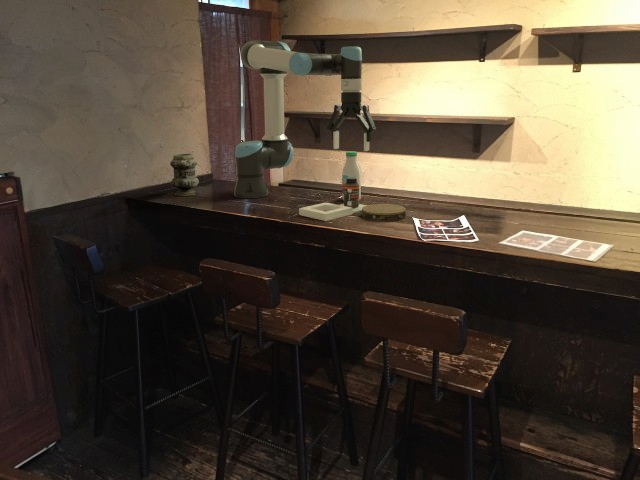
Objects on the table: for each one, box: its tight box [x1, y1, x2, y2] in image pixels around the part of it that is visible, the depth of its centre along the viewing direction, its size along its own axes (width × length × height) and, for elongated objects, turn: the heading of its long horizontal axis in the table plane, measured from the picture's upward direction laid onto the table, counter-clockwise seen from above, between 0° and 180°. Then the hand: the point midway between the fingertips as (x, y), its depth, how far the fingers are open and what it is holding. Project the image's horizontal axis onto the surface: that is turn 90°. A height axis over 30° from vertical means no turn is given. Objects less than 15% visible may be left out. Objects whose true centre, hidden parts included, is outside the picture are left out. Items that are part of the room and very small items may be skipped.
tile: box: [340, 203, 367, 214], centre depth 206 cm, size 12×12×1 cm
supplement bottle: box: [343, 177, 360, 208], centre depth 204 cm, size 6×6×11 cm
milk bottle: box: [341, 151, 362, 201], centre depth 219 cm, size 8×8×20 cm
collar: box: [298, 202, 354, 222], centre depth 196 cm, size 14×14×2 cm
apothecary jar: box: [169, 152, 200, 197], centre depth 238 cm, size 12×12×18 cm
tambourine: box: [361, 203, 407, 222], centre depth 193 cm, size 16×16×3 cm
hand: (351, 149), depth 200 cm, fingers open, 13 cm apart
